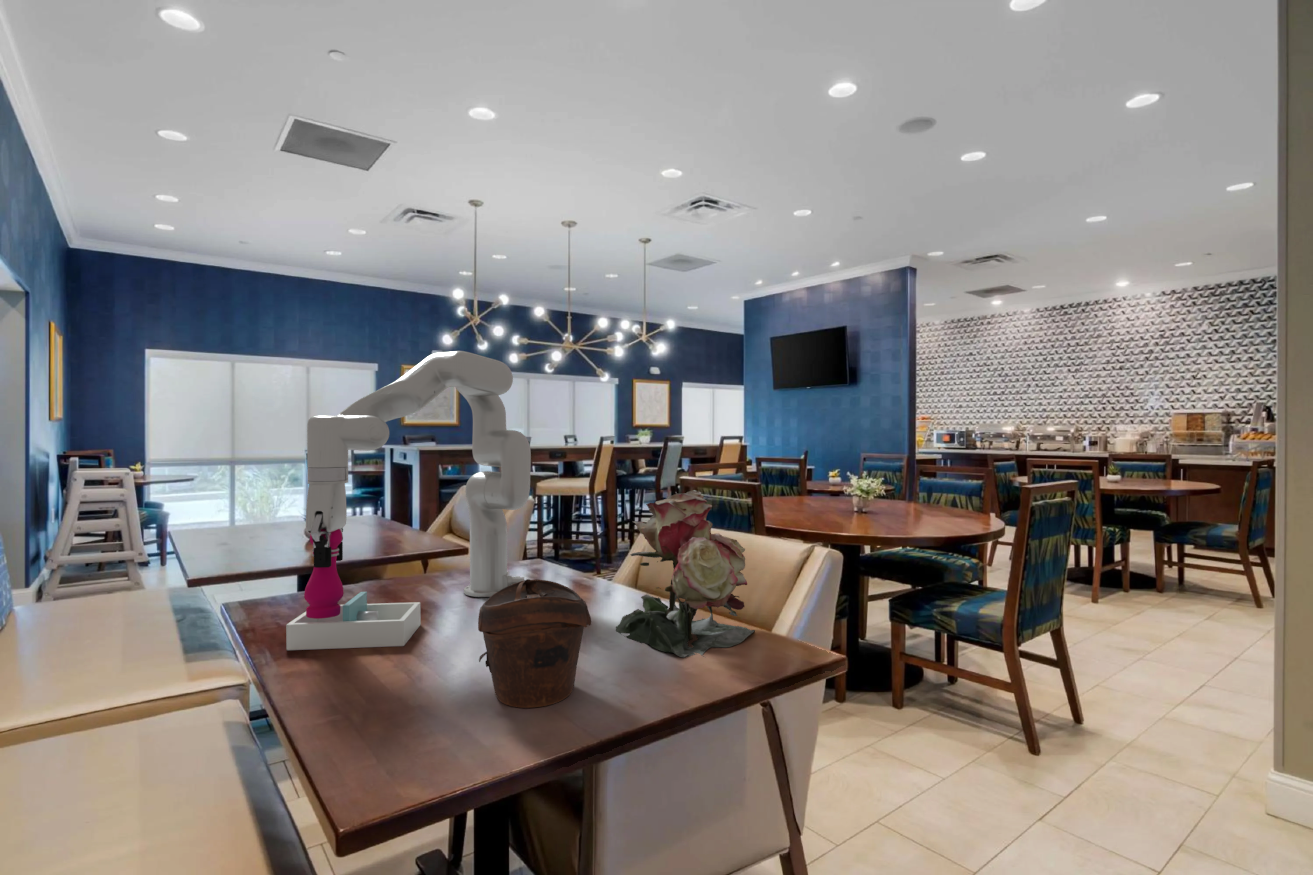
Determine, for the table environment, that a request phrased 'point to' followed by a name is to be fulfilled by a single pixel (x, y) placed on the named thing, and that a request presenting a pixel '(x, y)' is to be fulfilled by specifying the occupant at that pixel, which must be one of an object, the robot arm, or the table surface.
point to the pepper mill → (325, 584)
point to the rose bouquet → (688, 579)
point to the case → (533, 641)
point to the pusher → (358, 609)
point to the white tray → (356, 629)
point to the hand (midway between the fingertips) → (328, 562)
